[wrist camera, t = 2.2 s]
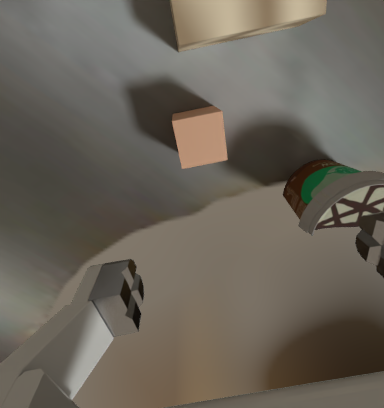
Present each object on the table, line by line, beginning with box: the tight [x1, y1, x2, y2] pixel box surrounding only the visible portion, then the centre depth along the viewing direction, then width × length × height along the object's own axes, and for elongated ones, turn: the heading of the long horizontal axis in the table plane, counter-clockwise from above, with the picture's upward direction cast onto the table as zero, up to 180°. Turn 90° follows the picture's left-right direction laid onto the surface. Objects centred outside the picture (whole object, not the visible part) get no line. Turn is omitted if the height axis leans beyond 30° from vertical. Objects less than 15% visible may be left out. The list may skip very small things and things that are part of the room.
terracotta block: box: [172, 106, 228, 169], centre depth 26 cm, size 5×5×6 cm
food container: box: [283, 159, 384, 236], centre depth 28 cm, size 12×6×10 cm, turn 95°
